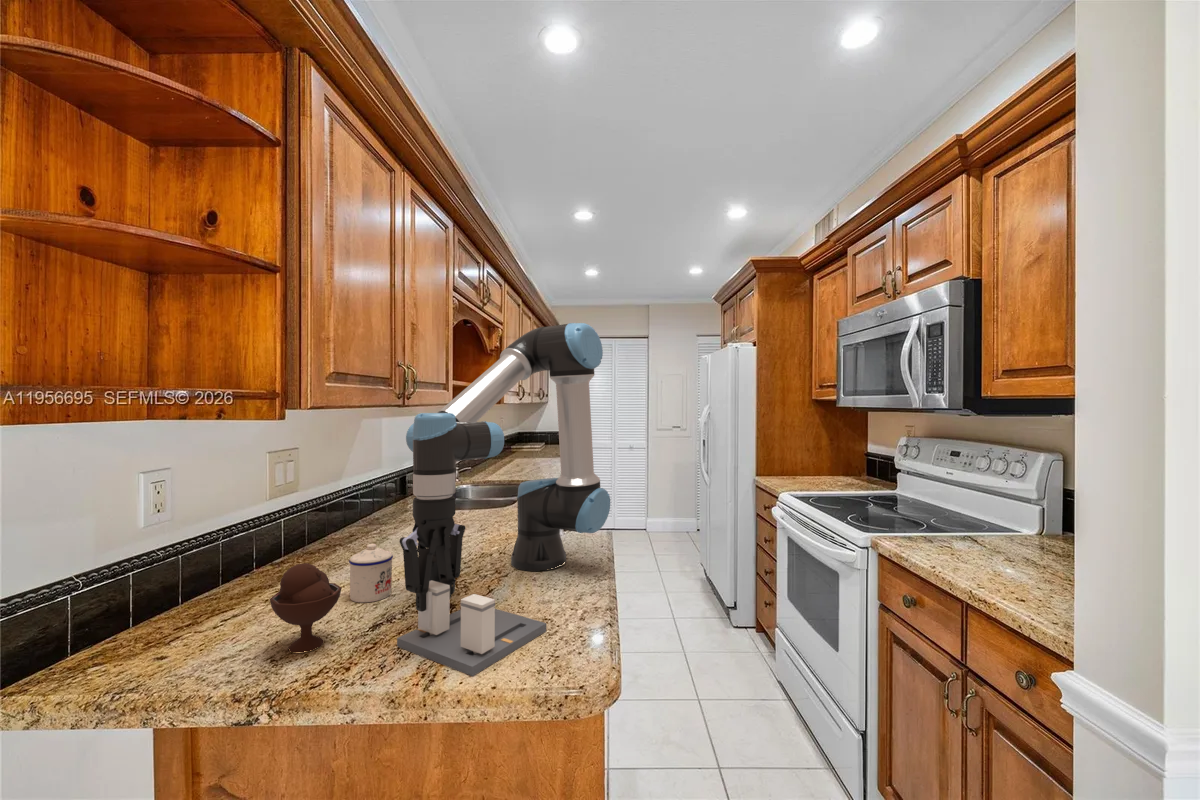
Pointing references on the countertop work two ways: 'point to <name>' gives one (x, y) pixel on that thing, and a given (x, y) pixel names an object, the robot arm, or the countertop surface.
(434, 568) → the supplement bottle
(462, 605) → the block
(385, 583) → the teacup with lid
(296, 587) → the ice cream bowl
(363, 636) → the countertop surface
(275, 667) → the countertop surface
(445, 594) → the block
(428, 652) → the fader panel
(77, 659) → the countertop surface
